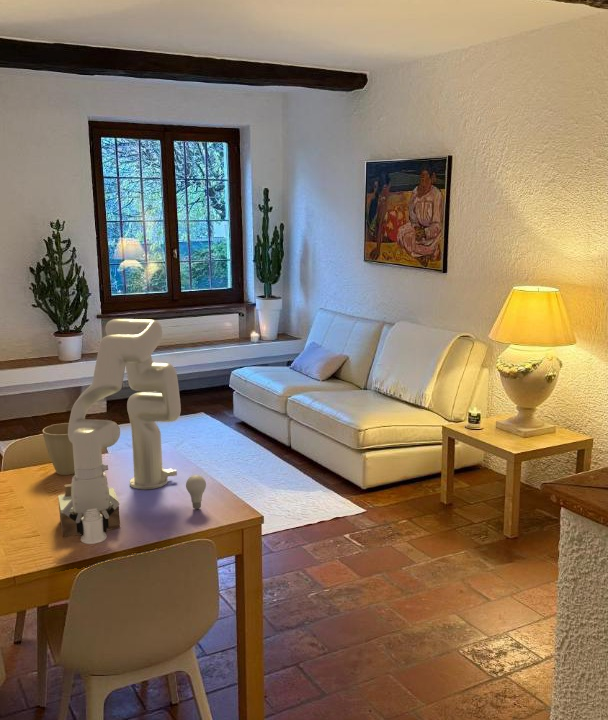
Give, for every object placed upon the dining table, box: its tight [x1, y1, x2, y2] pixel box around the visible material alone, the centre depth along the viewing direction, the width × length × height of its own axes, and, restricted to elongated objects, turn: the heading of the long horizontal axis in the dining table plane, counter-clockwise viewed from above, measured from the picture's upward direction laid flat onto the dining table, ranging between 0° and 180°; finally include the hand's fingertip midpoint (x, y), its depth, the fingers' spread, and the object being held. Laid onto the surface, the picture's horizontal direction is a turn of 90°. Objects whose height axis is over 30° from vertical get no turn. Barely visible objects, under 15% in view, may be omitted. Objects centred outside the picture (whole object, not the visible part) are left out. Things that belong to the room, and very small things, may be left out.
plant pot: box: [42, 422, 75, 476], centre depth 262 cm, size 15×15×16 cm
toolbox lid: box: [57, 483, 119, 513], centre depth 218 cm, size 16×12×4 cm
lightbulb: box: [185, 474, 207, 510], centre depth 229 cm, size 6×6×11 cm
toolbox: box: [58, 503, 121, 538], centre depth 219 cm, size 16×12×7 cm
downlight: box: [80, 508, 108, 545], centre depth 209 cm, size 8×7×10 cm
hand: (93, 531), depth 209 cm, fingers closed on downlight, 5 cm apart
